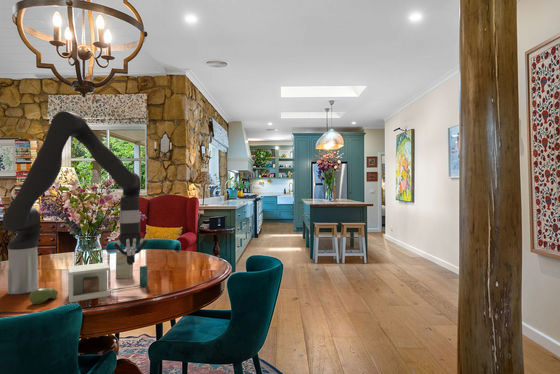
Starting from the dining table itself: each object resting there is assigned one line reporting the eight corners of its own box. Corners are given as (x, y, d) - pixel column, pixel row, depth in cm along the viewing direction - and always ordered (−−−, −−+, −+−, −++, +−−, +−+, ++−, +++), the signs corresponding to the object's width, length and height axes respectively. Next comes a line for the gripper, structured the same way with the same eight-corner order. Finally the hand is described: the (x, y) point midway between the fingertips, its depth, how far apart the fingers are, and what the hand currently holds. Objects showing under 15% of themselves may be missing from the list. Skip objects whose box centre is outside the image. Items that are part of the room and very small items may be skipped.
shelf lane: (69, 302, 122) (69, 272, 122) (68, 294, 131) (68, 266, 131) (110, 295, 129) (110, 267, 129) (106, 288, 138) (106, 262, 138)
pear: (26, 289, 119) (49, 286, 129) (24, 305, 118) (47, 300, 128) (40, 289, 118) (62, 286, 128) (38, 305, 118) (60, 301, 127)
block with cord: (83, 297, 127) (83, 275, 127) (83, 293, 131) (82, 272, 131) (148, 286, 139) (148, 267, 139) (146, 283, 143) (146, 264, 143)
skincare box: (115, 278, 154) (115, 251, 154) (120, 275, 158) (120, 249, 158) (128, 278, 153) (128, 251, 153) (133, 276, 158) (133, 249, 158)
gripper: (113, 223, 131) (113, 268, 131) (149, 221, 138) (150, 263, 138) (110, 221, 137) (111, 265, 137) (145, 219, 144) (146, 260, 144)
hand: (130, 264), depth 138 cm, fingers closed
